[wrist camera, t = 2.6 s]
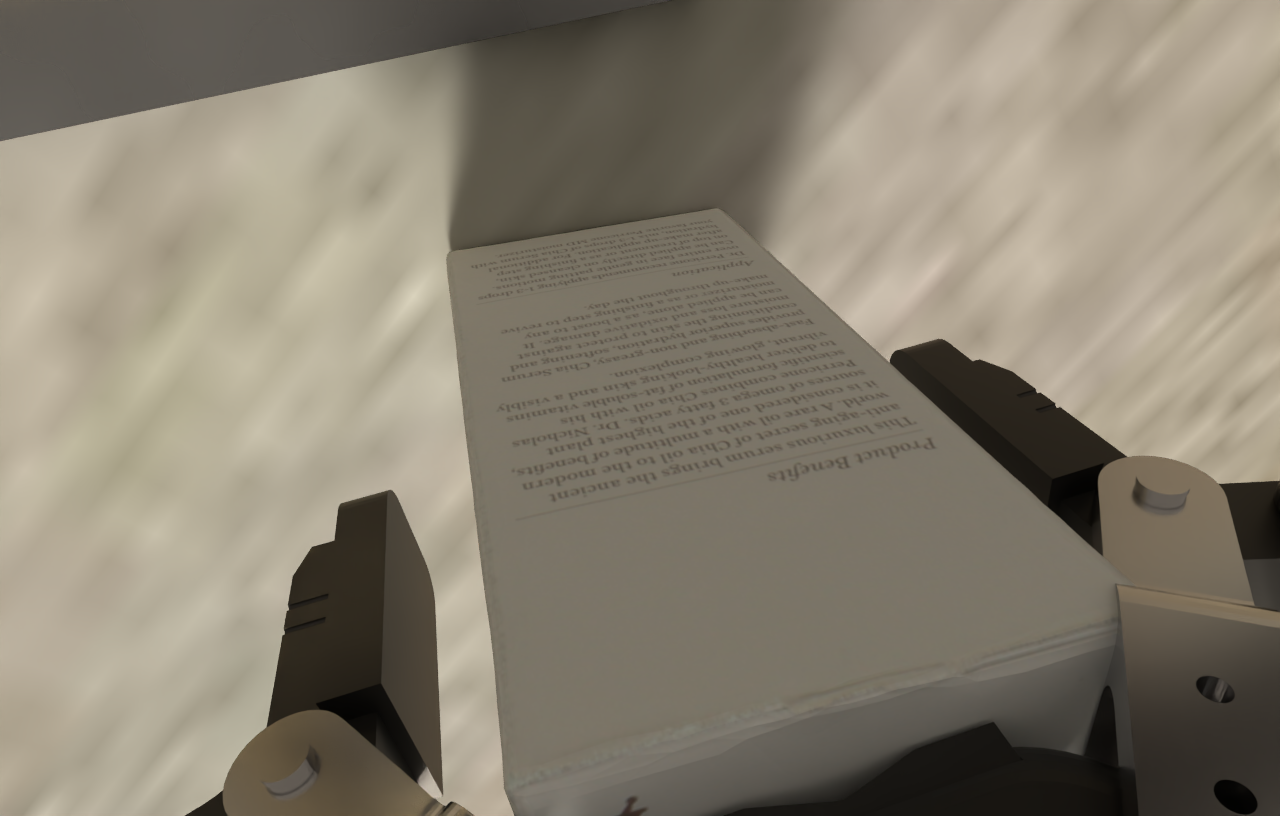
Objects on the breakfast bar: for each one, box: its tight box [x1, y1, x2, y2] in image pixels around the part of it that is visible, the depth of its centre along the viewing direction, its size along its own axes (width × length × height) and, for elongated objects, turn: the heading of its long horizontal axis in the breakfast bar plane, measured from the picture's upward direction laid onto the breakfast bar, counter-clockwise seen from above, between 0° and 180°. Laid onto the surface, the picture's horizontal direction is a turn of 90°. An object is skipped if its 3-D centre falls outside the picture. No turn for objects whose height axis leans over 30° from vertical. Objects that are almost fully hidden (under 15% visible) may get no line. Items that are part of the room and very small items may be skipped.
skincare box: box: [446, 208, 1136, 816], centre depth 12 cm, size 6×4×12 cm
